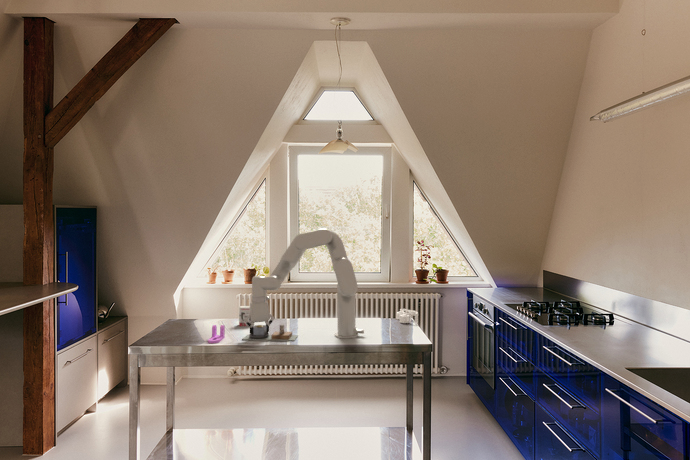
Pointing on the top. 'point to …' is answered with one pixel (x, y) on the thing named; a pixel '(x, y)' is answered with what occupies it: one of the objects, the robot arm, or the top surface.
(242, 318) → the ink box
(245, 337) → the mat
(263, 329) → the ring
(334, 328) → the top surface
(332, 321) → the top surface
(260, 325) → the hub
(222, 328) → the bracket
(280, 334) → the stand
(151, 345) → the top surface
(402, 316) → the skeletal toy car
